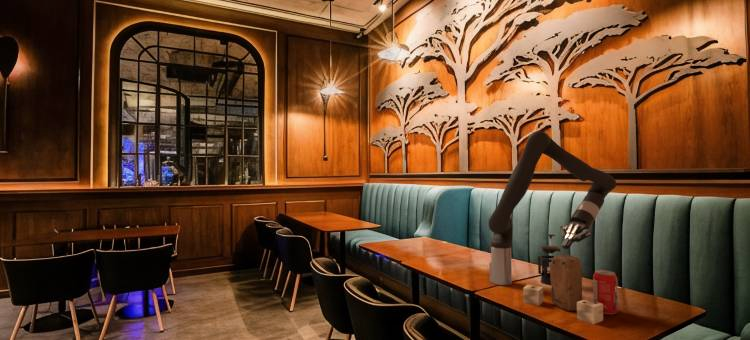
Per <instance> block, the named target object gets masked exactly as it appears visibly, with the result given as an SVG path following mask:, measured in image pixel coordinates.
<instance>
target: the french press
mask: <svg viewBox="0 0 750 340" xmlns="http://www.w3.org/2000/svg"><path fill="white" fill-rule="evenodd" d="M545 236H546V237H549V241H550V242H549V243H550V245H541V246H540V248H541V252H542V253H544V254H555V252H558V253H561V250H562V246H561V247H560V246H557V245H556V246H555V245H552V239H553V237H556V235H555V234H553V233H552V234H550V233H549V234H545ZM555 256H556V255H538V256H537V263H538V265H537V268H538V269H537V271H538V273H537V274H538V275H540V282H541V284H544V285H547V286H552V285H551V278H550V266H548V263H551V261H552V259H553V258H554V257H555Z"/></svg>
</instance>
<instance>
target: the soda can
mask: <svg viewBox="0 0 750 340" xmlns="http://www.w3.org/2000/svg"><path fill="white" fill-rule="evenodd" d="M618 282H619V281H618V277H617V275H616V272H614V271H612V270H605V269H597V270H594V273H593V275H592V296H593V297H592V299H593V300H592V301H595V302H598V303H602V304H603V315H608V316H609V315H610V316H611V315H615V314H618V312H619V293H618V291H619V289H618V288H619V287H618V285H619V284H618Z"/></svg>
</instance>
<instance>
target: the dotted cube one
mask: <svg viewBox="0 0 750 340" xmlns="http://www.w3.org/2000/svg"><path fill="white" fill-rule="evenodd" d="M522 299H523V300H522V303H524V304H528V305H532V306H533V305H534V306H541V304H542V303H543V302H544V287H543V286H537V285H533V284H526V285H525V286H524V287H523V288H522Z"/></svg>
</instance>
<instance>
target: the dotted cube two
mask: <svg viewBox="0 0 750 340" xmlns="http://www.w3.org/2000/svg"><path fill="white" fill-rule="evenodd" d="M576 319H577V320H580V321H582V322H583V321H584V322H586V323H589V324H592V325H595V324H598V323H600V322H602V321H604V314H603V304H602V303H598V302H595V301H593V300H590V299H587V298H584V299H582V300H581V301H578V302H577V310H576Z"/></svg>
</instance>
